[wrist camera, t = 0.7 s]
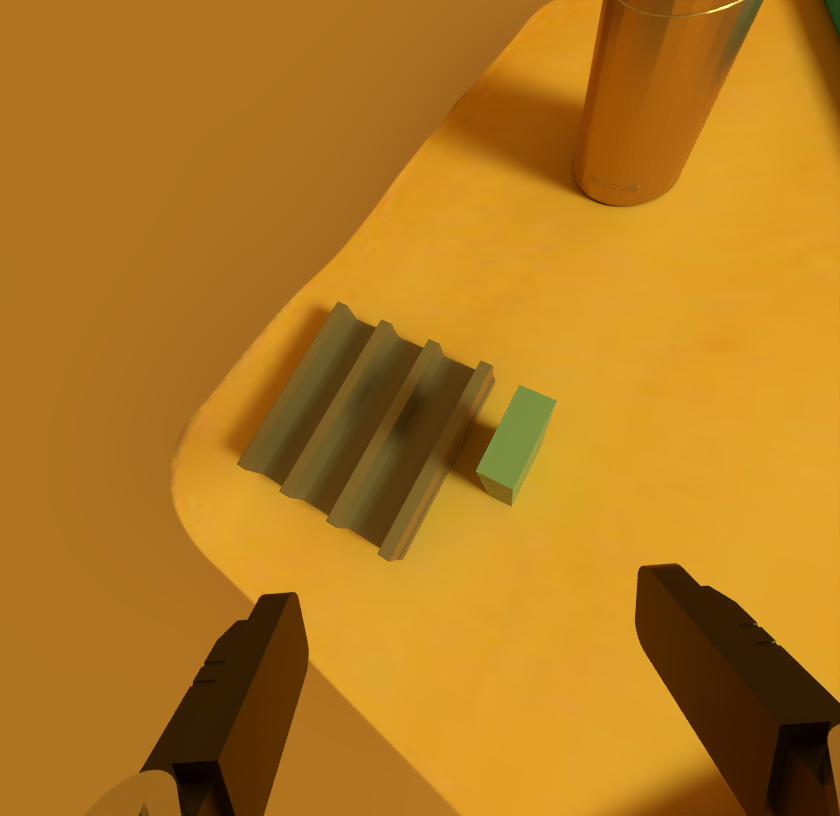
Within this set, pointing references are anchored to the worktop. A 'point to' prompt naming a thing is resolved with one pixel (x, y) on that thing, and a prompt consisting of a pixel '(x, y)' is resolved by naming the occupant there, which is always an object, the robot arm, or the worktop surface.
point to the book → (834, 12)
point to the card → (515, 444)
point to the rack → (369, 428)
